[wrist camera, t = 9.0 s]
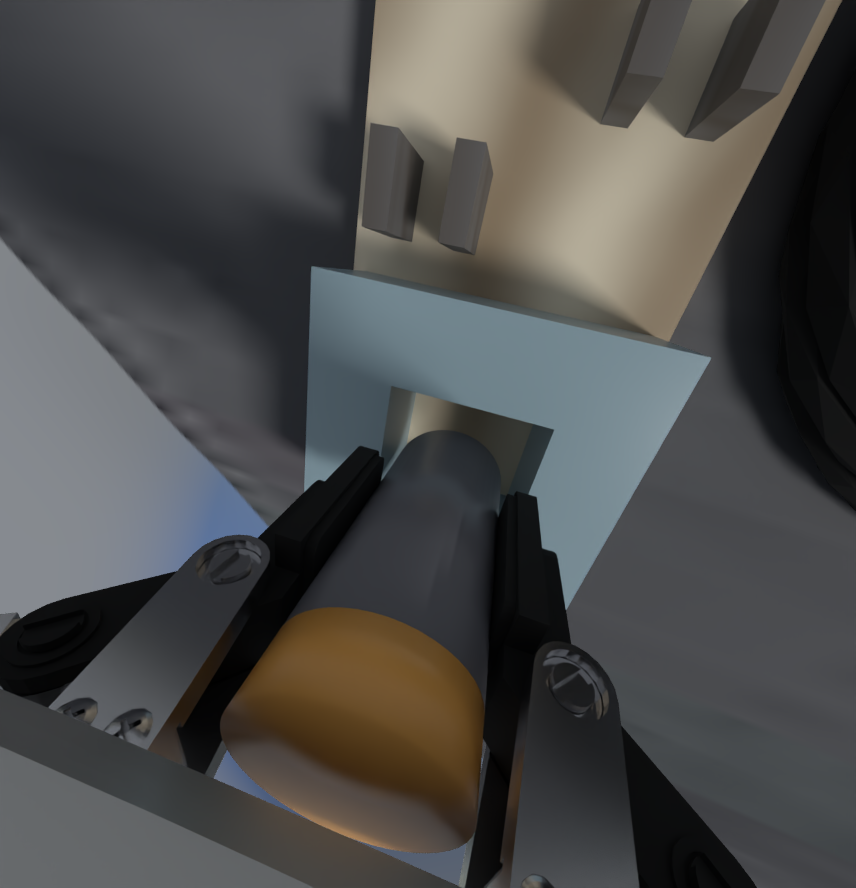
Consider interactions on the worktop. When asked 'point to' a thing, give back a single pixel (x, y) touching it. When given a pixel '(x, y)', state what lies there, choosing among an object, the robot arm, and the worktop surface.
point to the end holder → (495, 394)
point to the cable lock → (824, 303)
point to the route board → (568, 155)
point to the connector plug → (386, 662)
